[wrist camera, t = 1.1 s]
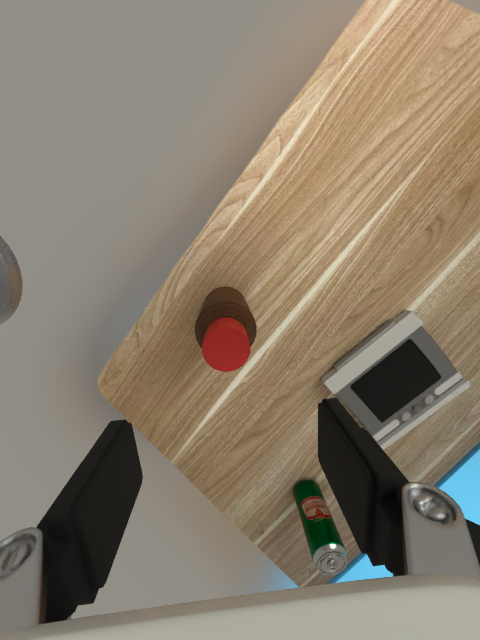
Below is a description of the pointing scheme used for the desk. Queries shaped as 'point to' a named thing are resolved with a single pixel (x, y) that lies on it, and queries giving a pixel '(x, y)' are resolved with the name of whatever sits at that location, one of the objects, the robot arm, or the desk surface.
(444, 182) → the desk surface
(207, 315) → the bottle
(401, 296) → the desk surface
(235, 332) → the cap
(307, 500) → the soda can
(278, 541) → the desk surface
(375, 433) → the alarm clock
